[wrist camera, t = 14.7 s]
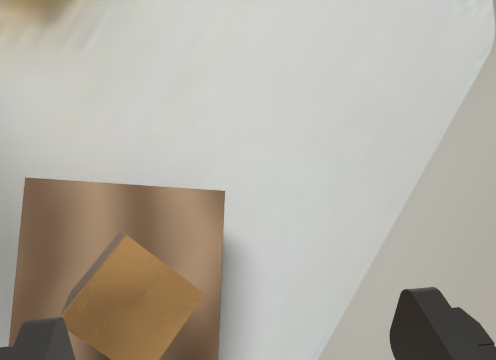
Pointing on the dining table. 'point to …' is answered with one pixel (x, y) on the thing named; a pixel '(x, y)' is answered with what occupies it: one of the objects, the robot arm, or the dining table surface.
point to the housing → (129, 303)
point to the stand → (100, 236)
